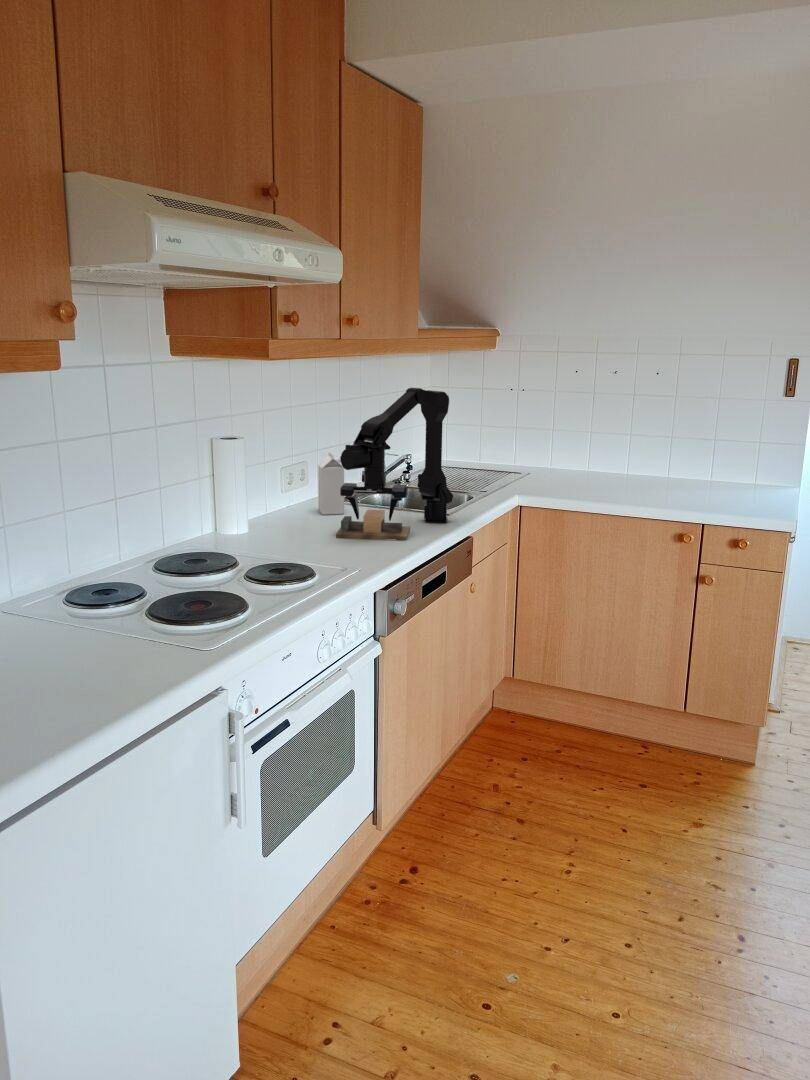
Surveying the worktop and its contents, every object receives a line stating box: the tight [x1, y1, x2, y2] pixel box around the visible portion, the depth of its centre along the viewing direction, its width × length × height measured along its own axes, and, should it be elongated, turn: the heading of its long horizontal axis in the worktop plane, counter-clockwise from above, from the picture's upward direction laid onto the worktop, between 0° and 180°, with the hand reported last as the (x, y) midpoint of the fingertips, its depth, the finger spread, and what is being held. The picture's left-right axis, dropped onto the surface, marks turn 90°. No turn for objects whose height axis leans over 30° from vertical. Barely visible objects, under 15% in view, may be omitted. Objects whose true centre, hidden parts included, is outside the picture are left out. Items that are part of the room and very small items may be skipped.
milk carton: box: [317, 451, 345, 516], centre depth 266 cm, size 7×7×19 cm
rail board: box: [335, 515, 411, 541], centre depth 241 cm, size 20×12×4 cm, turn 85°
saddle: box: [362, 509, 386, 534], centre depth 241 cm, size 5×9×5 cm, turn 175°
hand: (374, 519), depth 241 cm, fingers open, 9 cm apart
